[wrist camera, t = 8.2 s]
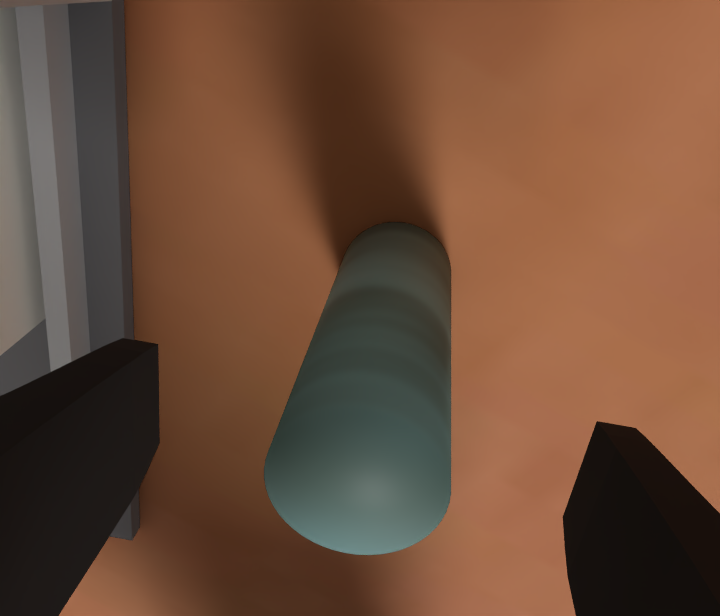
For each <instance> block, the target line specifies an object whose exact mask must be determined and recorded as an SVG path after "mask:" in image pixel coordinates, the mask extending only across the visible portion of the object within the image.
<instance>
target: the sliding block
mask: <svg viewBox="0 0 720 616" xmlns="http://www.w3.org/2000/svg"><path fill="white" fill-rule="evenodd" d="M45 318H46V317H45V307H44V297H43V287H42V276H41V266H40V256H39V246H38V236H37V225H36V215H35V205H34V195H33V184H32V174H31V164H30V154H29V144H28V133H27V123H26V113H25V103H24V92H23V82H22V72H21V62H20V52H19V41H18V31H17V21H16V11H15V7H2V8H0V356H1V355H2V354H3V353H4V352H5V351H7V350H8V349H9V348H10V347H11V346H13V345H14V344H15V343H16V342H17V341H19V340H20V339H21V338H22V337H24V336H25V335H26V334H27V333H28V332H30V331H31V330H32V329H33V328H34V327H36V326H37V325H38V324H39V323H40V322H42V321H43V320H44V319H45Z"/></svg>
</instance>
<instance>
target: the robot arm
mask: <svg viewBox="0 0 720 616" xmlns="http://www.w3.org/2000/svg"><path fill="white" fill-rule="evenodd" d="M159 443H160V437H159V365H158V344H154V343H148V342H143V341H137V340H131V339H126V338H121V339H119V340H116V341H114V342H112V343H109V344H107V345H105V346H103V347H101V348H99V349H96V350H94V351H92V352H90V353H88V354H86V355H84V356H82V357H80V358H78V359H76V360H74V361H72V362H70V363H68V364H66V365H64V366H62V367H60V368H58V369H56V370H54V371H52V372H50V373H48V374H45V375H43V376H41V377H39V378H37V379H35V380H33V381H31V382H29V383H27V384H25V385H23V386H21V387H19V388H17V389H14V390H12V391H10V392H8V393H6V394H3V395H1V396H0V616H59V614H60V613H61V611H62V609H63V608H64V606H65V605H66V603H67V602H68V600H69V598H70V597H71V595H72V594H73V592H74V591H75V589H76V588H77V586H78V584H79V583H80V581H81V580H82V578H83V577H84V575H85V574H86V572H87V570H88V569H89V567H90V566H91V564H92V563H93V561H94V560H95V558H96V556H97V555H98V553H99V552H100V550H101V549H102V547H103V546H104V544H105V542H106V541H107V539H108V538H109V536H110V535H111V533H112V532H113V530H114V528H115V527H116V525H117V524H118V522H119V520H120V519H121V517H122V516H123V514H124V513H125V511H126V509H127V508H128V506H129V505H130V503H131V501H132V500H133V498H134V496H135V495H136V493H137V491H138V489H139V487H140V485H141V482H142V480H143V478H144V476H145V474H146V472H147V470H148V468H149V465H150V463H151V461H152V459H153V457H154V454H155V452H156V450H157V448H158V445H159ZM563 527H564V541H565V553H566V564H567V574H568V580H569V585H570V590H571V594H572V599H573V604H574V608H575V613H576V616H720V513H719V512H718V511H717V510H716V509H715V508H714V507H713V506H712V505H711V504H710V503H709V502H708V501H707V500H706V499H705V498H704V497H703V496H702V495H701V494H700V493H699V492H698V491H697V490H696V489H695V488H694V487H693V486H692V485H691V484H690V483H689V482H688V480H687V479H686V478H685V477H684V476H683V475H682V474H681V473H680V472H679V471H678V470H677V469H676V468H675V467H674V466H673V465H672V464H671V463H670V462H669V461H668V460H667V459H666V457H665V456H664V455H663V454H662V453H661V452H660V451H659V450H658V449H657V448H656V447H655V446H654V445H653V444H652V443H651V442H650V441H649V440H648V439H647V438H646V437H645V436H644V435H643V434H642V433H640V432H639V431H638V430H637V429H636V428H632V427H627V426H621V425H615V424H610V423H604V422H598V421H597V422H596V425H595V428H594V431H593V434H592V436H591V439H590V442H589V445H588V448H587V451H586V453H585V456H584V459H583V462H582V465H581V467H580V470H579V473H578V476H577V479H576V481H575V484H574V487H573V490H572V493H571V495H570V498H569V501H568V504H567V507H566V510H565V512H564V515H563Z"/></svg>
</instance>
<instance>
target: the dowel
mask: <svg viewBox="0 0 720 616" xmlns="http://www.w3.org/2000/svg"><path fill="white" fill-rule="evenodd" d="M264 480H265V486H266V490H267V493H268V496H269V498H270V500H271V502H272V504H273V506H274V508H275V509H276V511H277V512H278V514H279V515H280V516H281V517H282V518H283V519H284V521H285V522H286V523H287V524H288V525H289V526H291V527H292V528H293V529H294V530H295V531H297V532H298V533H299V534H301V535H302V536H304V537H305V538H307V539H309V540H310V541H312V542H314V543H316V544H319V545H321V546H323V547H326V548H329V549H332V550H335V551H339V552H343V553H349V554H356V555H378V554H385V553H391V552H395V551H399V550H402V549H404V548H407V547H409V546H412V545H414V544H415V543H417V542H419V541H421V540H422V539H424V538H425V537H426V536H428V535H429V534H430V533H431V532H432V531H433V530H434V529H435V528H436V527H437V526H438V524H439V523H440V522H441V520H442V519H443V517H444V515H445V513H446V511H447V508H448V505H449V502H450V496H451V266H450V262H449V258H448V256H447V254H446V251H445V250H444V248H443V247H442V245H441V244H440V243H439V241H438V240H437V239H436V238H435V237H434V236H432V235H431V234H430V233H428V232H427V231H425V230H424V229H422V228H420V227H417V226H415V225H412V224H407V223H401V222H388V223H382V224H379V225H375V226H373V227H371V228H368V229H367V230H365V231H363V232H362V233H361V234H359V235H358V236H357V237H356V238H355V239H354V240H353V241H352V243H351V244H350V246H349V247H348V249H347V251H346V253H345V255H344V258H343V260H342V263H341V266H340V268H339V271H338V273H337V276H336V278H335V281H334V284H333V286H332V289H331V291H330V294H329V296H328V299H327V302H326V304H325V307H324V309H323V312H322V314H321V317H320V320H319V322H318V325H317V327H316V330H315V332H314V335H313V338H312V340H311V343H310V345H309V348H308V350H307V353H306V356H305V358H304V361H303V363H302V366H301V368H300V371H299V374H298V376H297V379H296V381H295V384H294V386H293V389H292V392H291V394H290V397H289V399H288V402H287V404H286V407H285V410H284V412H283V415H282V417H281V420H280V422H279V425H278V428H277V430H276V433H275V435H274V438H273V440H272V443H271V446H270V448H269V451H268V454H267V457H266V460H265V466H264Z"/></svg>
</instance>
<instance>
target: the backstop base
mask: <svg viewBox="0 0 720 616" xmlns="http://www.w3.org/2000/svg"><path fill="white" fill-rule="evenodd" d="M2 7H15V11H16V21H17V31H18V41H19V52H20V62H21V72H22V82H23V92H24V103H25V113H26V123H27V133H28V144H29V154H30V164H31V174H32V184H33V195H34V205H35V215H36V225H37V236H38V246H39V256H40V266H41V276H42V287H43V297H44V307H45V317H46V318H45V319H44V320H43V321H42V322H40V323H39V324H38V325H37V326H36V327H34V328H33V329H32V330H31V331H30V332H28V333H27V334H26V335H25V336H24V337H22V338H21V339H20V340H19V341H17V342H16V343H15V344H14V345H13V346H11V347H10V348H9V349H8V350H7V351H5V352H4V353H3V354H2V355H1V356H0V396H1V395H3V394H6V393H8V392H10V391H12V390H14V389H17V388H19V387H21V386H23V385H25V384H27V383H29V382H31V381H33V380H35V379H37V378H39V377H41V376H43V375H45V374H48V373H50V372H52V371H54V370H56V369H58V368H60V367H62V366H64V365H66V364H68V363H70V362H72V361H74V360H76V359H78V358H80V357H82V356H84V355H86V354H88V353H90V352H92V351H94V350H96V349H99V348H101V347H103V346H105V345H107V344H109V343H112V342H114V341H116V340H119V339H121V338H126V339H131V340H134V319H133V286H132V253H131V220H130V187H129V154H128V121H127V88H126V55H125V22H124V0H0V8H2ZM139 528H140V517H139V489H138V491H137V493H136V495H135V496H134V498H133V500H132V501H131V503H130V505H129V506H128V508H127V509H126V511H125V513H124V514H123V516H122V517H121V519H120V520H119V522H118V524H117V525H116V527H115V528H114V530H113V532H112V533H111V535H110V536H111V537H116V538H121V539H126V540H133V538H134V536H135V535H136V533H137V531H138V529H139Z"/></svg>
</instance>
